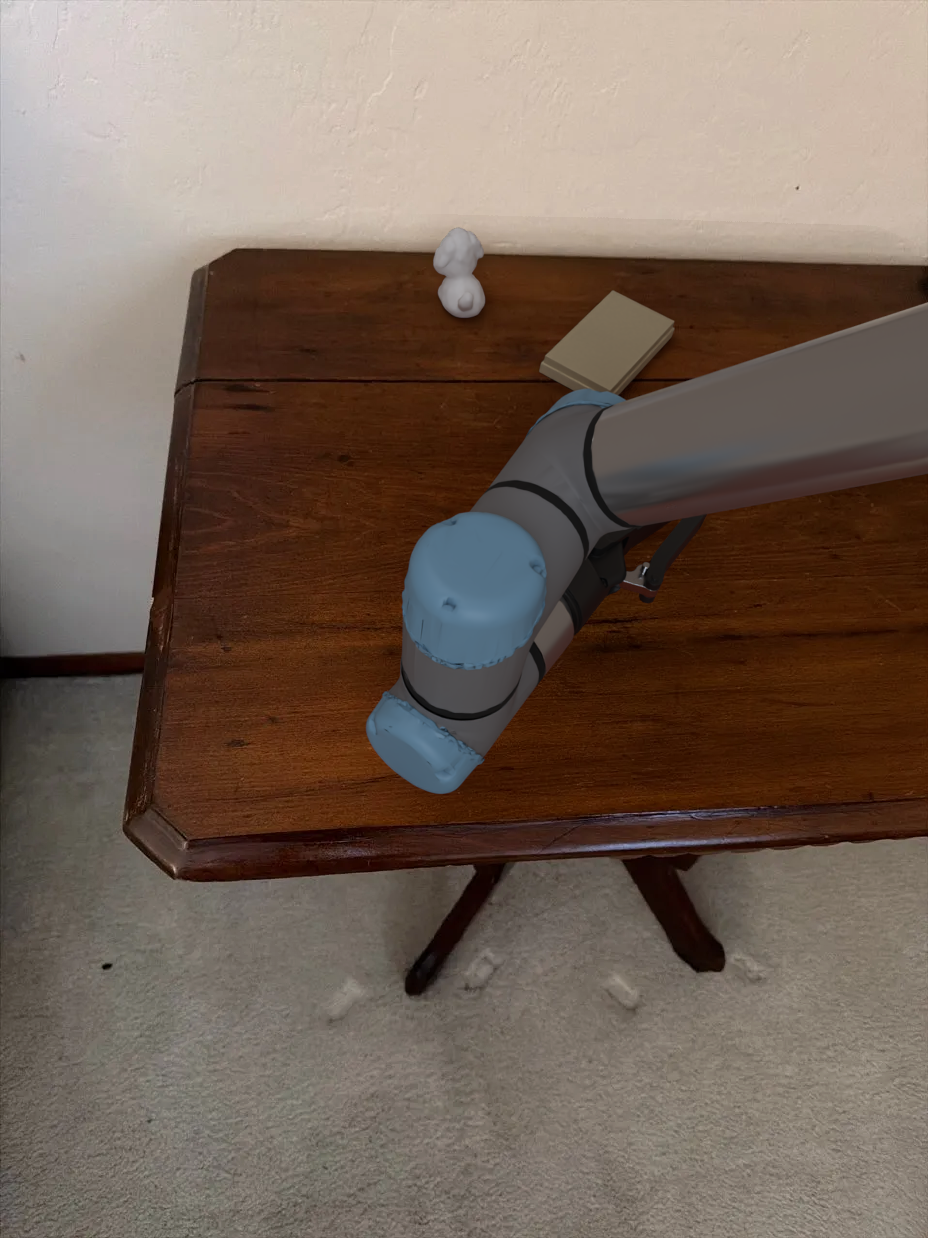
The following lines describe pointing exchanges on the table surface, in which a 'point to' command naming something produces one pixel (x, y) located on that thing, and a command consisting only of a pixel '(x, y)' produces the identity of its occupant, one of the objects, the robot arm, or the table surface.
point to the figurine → (460, 273)
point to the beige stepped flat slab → (608, 346)
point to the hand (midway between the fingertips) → (679, 426)
